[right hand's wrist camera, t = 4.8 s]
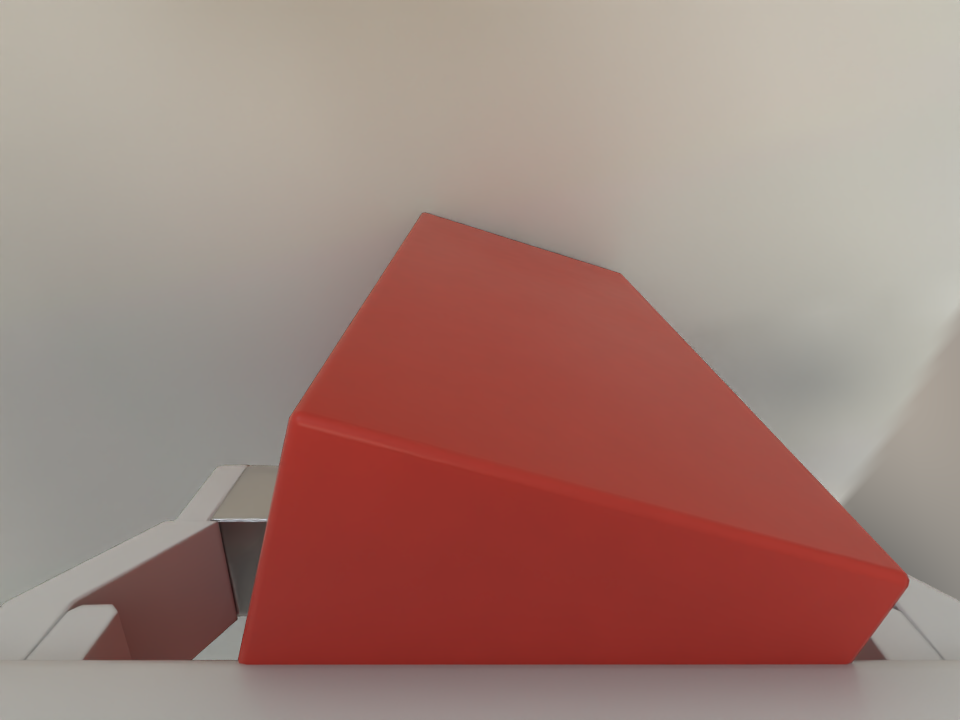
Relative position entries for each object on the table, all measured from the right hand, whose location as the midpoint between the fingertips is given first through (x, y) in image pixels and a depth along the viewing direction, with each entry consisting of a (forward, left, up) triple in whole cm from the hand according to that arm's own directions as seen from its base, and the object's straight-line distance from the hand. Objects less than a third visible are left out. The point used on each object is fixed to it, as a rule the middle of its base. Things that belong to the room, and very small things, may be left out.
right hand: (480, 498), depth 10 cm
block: (0, 0, -6) cm, 6 cm away
